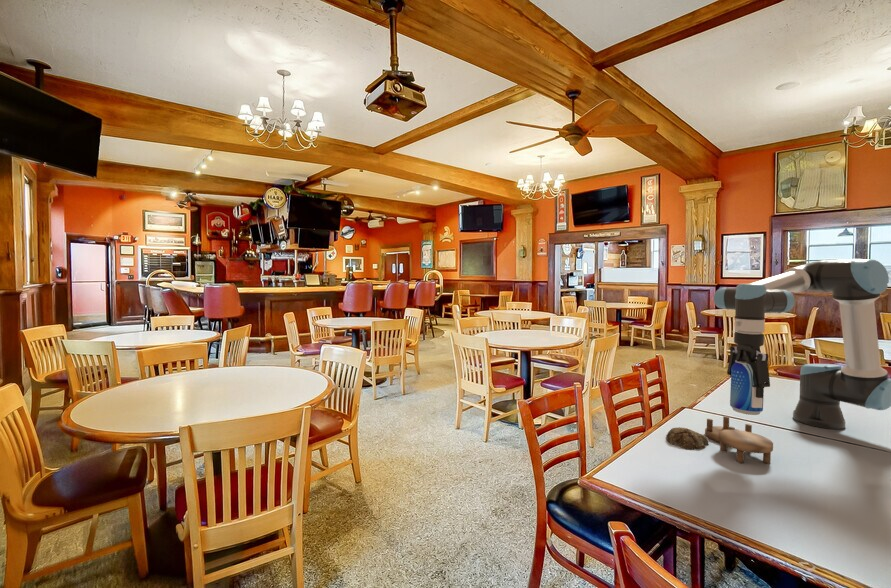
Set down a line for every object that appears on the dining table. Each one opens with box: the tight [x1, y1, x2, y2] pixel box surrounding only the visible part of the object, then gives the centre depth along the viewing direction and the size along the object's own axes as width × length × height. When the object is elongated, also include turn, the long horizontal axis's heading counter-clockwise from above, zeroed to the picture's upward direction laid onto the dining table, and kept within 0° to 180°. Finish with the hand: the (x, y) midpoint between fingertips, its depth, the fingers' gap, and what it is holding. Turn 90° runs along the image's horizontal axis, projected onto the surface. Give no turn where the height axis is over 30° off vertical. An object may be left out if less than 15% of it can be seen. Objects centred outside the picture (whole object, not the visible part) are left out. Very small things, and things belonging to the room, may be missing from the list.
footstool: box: [718, 429, 774, 465], centre depth 128 cm, size 14×14×6 cm
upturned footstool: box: [704, 415, 753, 444], centre depth 141 cm, size 14×14×6 cm
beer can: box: [729, 360, 764, 416], centre depth 127 cm, size 8×8×16 cm
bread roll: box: [665, 427, 709, 451], centre depth 139 cm, size 13×12×5 cm
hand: (746, 402), depth 127 cm, fingers closed on beer can, 8 cm apart
